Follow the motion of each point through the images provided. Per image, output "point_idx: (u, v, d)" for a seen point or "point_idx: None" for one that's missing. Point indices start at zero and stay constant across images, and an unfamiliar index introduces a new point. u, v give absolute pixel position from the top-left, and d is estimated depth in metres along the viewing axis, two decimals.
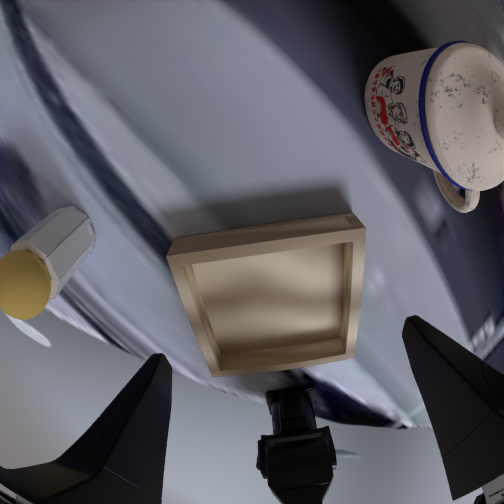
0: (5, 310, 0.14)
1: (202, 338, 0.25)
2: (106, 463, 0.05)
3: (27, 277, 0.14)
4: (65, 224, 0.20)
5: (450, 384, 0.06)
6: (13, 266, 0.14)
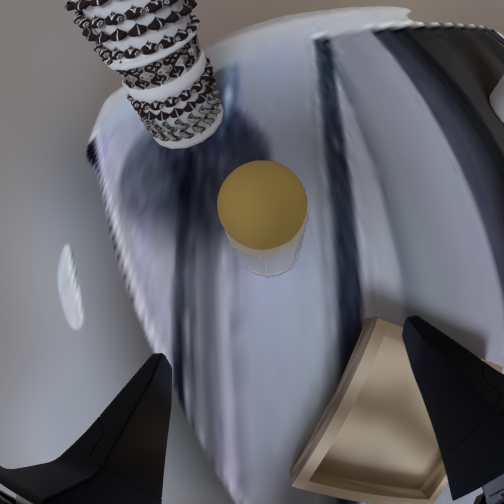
0: (250, 190, 0.14)
1: (334, 428, 0.17)
2: (106, 463, 0.05)
3: (305, 199, 0.15)
4: None
5: (450, 384, 0.06)
6: (297, 178, 0.15)
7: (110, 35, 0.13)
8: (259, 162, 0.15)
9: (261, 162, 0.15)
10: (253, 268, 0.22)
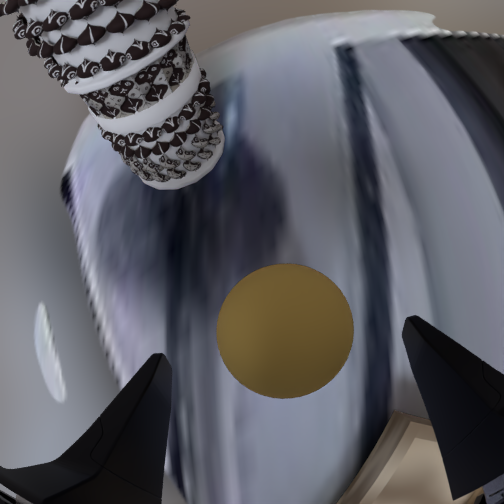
0: (272, 342, 0.08)
1: None
2: (106, 463, 0.05)
3: (353, 331, 0.09)
4: None
5: (450, 384, 0.06)
6: (343, 295, 0.10)
7: (54, 46, 0.08)
8: (285, 277, 0.09)
9: (289, 279, 0.09)
10: None
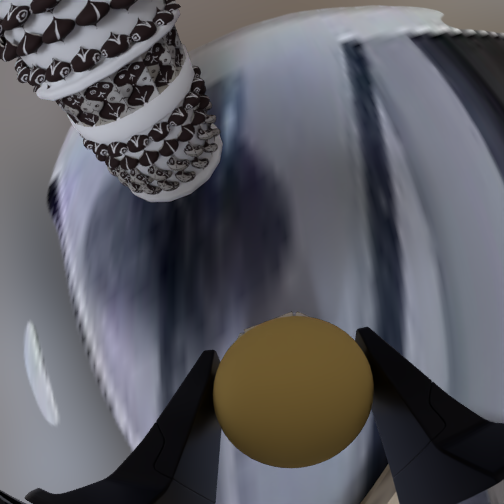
0: (280, 427, 0.06)
1: None
2: (172, 473, 0.05)
3: (372, 395, 0.07)
4: None
5: (394, 404, 0.06)
6: (364, 356, 0.07)
7: (17, 46, 0.05)
8: (297, 345, 0.07)
9: (302, 347, 0.07)
10: None
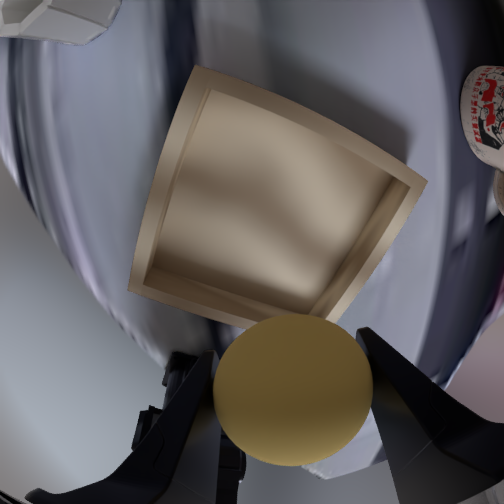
0: (279, 424, 0.06)
1: (152, 216, 0.16)
2: (172, 473, 0.05)
3: (372, 394, 0.07)
4: None
5: (394, 404, 0.06)
6: (363, 355, 0.07)
7: None
8: (297, 342, 0.07)
9: (301, 345, 0.07)
10: (56, 41, 0.11)
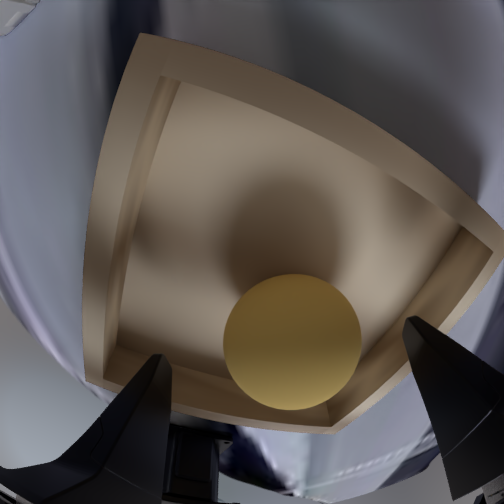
0: (288, 358, 0.08)
1: (95, 305, 0.09)
2: (106, 463, 0.05)
3: (361, 338, 0.09)
4: None
5: (450, 384, 0.06)
6: (349, 303, 0.09)
7: None
8: (294, 289, 0.09)
9: (298, 291, 0.09)
10: None
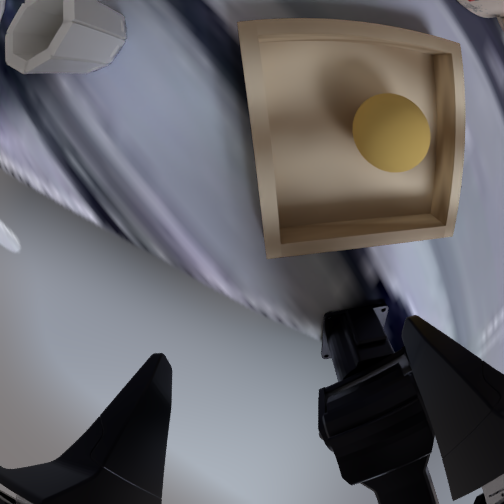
0: (399, 110, 0.12)
1: (266, 167, 0.16)
2: (106, 463, 0.05)
3: None
4: None
5: (450, 384, 0.06)
6: None
7: None
8: (374, 96, 0.14)
9: (376, 95, 0.14)
10: (82, 68, 0.13)
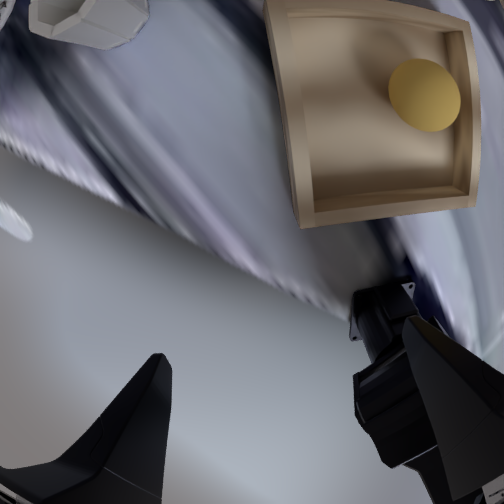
0: (436, 66, 0.11)
1: (299, 133, 0.15)
2: (106, 463, 0.05)
3: None
4: None
5: (450, 384, 0.06)
6: None
7: None
8: None
9: (407, 60, 0.13)
10: (105, 41, 0.12)
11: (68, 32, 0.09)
